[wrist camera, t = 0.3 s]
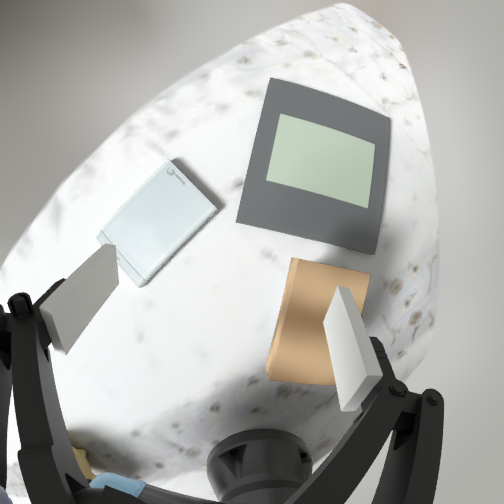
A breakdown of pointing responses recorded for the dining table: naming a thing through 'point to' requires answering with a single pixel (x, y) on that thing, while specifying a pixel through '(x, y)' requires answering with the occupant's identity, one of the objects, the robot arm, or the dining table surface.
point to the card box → (309, 321)
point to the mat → (317, 168)
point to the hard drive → (156, 222)
